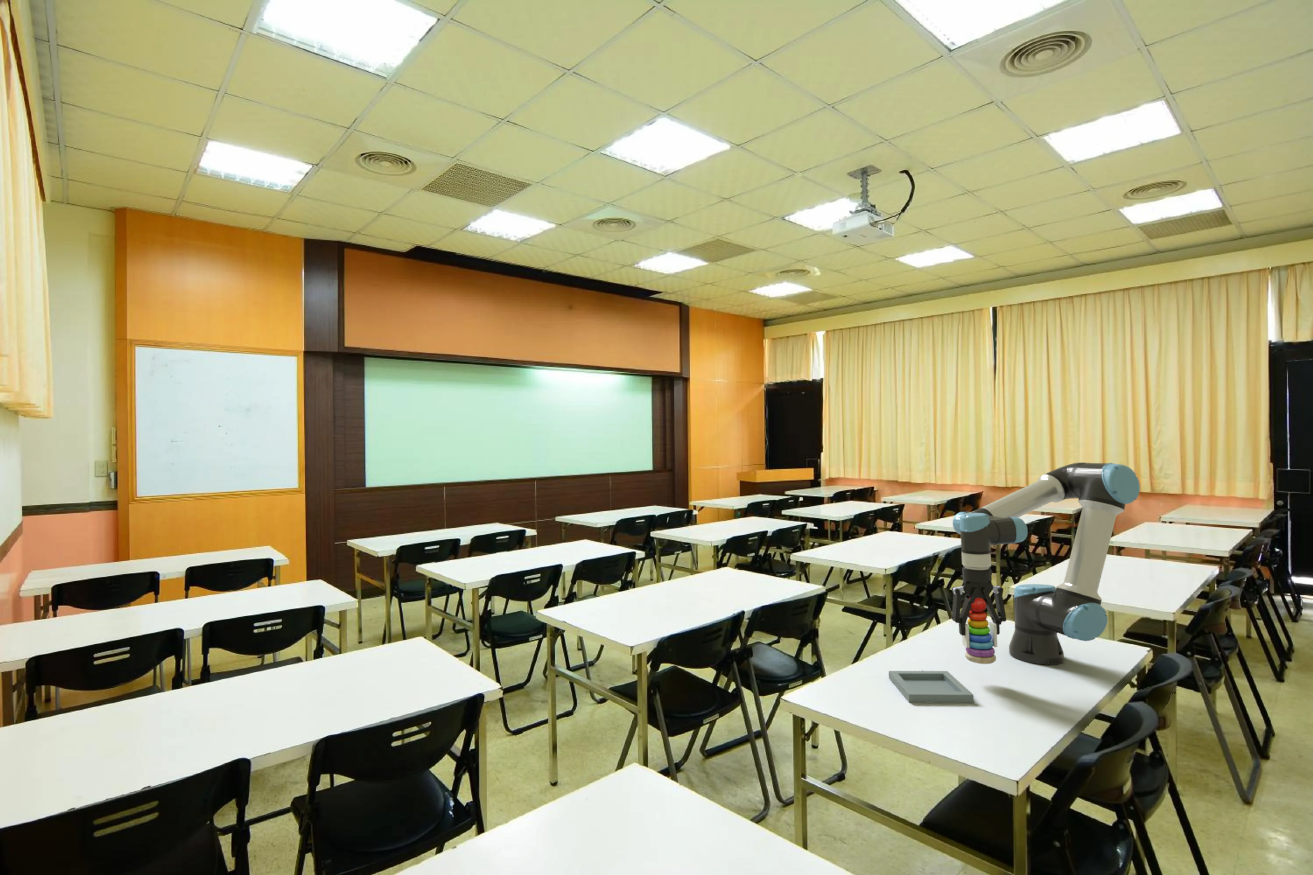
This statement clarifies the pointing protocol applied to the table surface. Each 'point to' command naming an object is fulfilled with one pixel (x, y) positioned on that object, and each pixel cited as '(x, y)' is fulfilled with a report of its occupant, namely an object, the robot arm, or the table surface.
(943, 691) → the gray square tray
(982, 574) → the robot arm
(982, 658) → the stacking toy
